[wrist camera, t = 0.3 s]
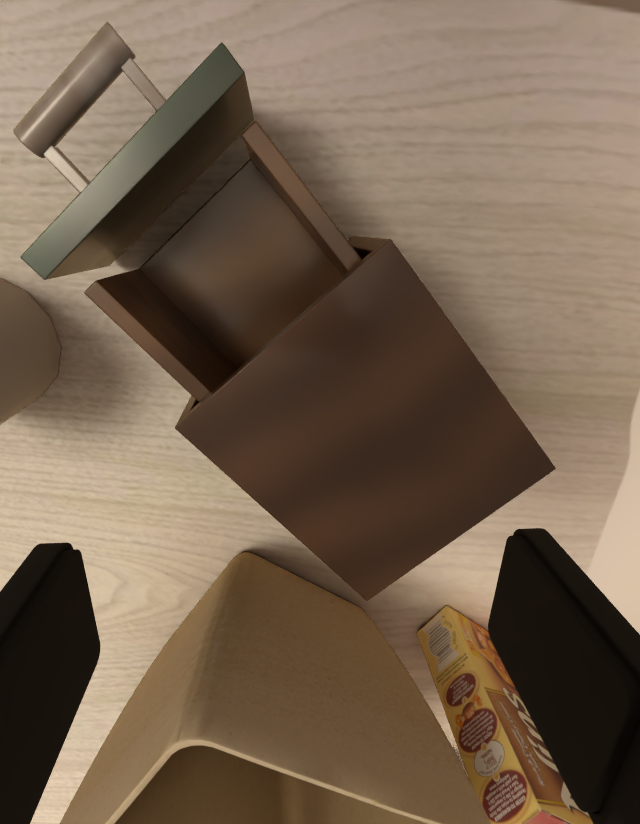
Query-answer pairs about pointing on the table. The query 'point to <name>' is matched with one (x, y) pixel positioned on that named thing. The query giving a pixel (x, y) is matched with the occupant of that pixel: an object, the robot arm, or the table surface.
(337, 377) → the cabinet
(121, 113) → the table surface
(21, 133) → the drawer
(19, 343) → the cup
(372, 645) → the flower pot
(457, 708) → the candy box
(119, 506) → the table surface
